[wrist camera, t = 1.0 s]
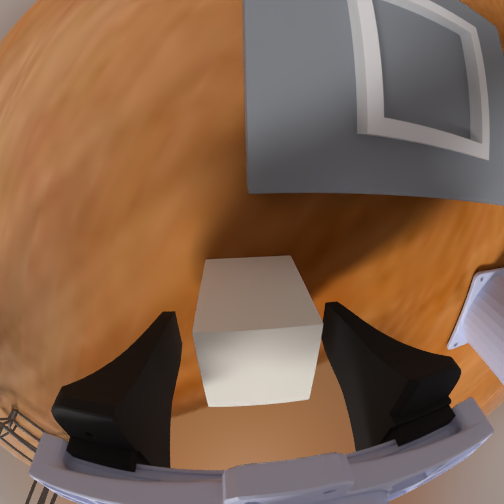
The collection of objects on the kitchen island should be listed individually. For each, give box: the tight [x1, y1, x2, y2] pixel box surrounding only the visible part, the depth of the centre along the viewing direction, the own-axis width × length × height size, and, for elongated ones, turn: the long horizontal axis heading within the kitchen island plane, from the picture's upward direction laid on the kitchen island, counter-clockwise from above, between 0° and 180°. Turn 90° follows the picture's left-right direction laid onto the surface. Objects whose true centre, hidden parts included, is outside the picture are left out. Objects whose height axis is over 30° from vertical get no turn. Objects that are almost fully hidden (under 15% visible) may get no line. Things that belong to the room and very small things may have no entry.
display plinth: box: [243, 0, 504, 206], centre depth 9 cm, size 18×14×3 cm
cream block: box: [192, 255, 323, 407], centre depth 13 cm, size 4×4×6 cm
